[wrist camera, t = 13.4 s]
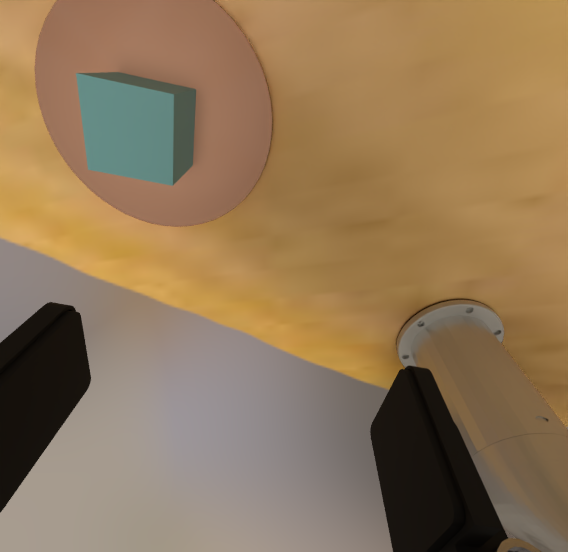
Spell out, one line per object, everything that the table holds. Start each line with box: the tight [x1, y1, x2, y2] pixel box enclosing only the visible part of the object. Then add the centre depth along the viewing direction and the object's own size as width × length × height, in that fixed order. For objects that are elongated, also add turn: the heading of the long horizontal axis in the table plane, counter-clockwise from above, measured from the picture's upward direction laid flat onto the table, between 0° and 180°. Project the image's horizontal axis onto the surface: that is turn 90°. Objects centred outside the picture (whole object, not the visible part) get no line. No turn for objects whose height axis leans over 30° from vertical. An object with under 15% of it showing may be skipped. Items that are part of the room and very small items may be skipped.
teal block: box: [76, 72, 196, 186], centre depth 25 cm, size 6×6×6 cm
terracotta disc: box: [35, 0, 273, 227], centre depth 28 cm, size 19×19×1 cm
